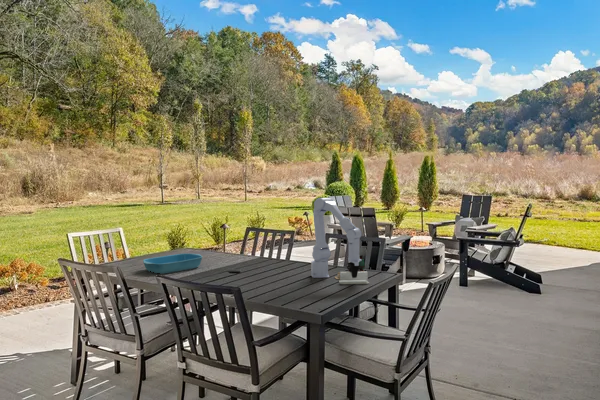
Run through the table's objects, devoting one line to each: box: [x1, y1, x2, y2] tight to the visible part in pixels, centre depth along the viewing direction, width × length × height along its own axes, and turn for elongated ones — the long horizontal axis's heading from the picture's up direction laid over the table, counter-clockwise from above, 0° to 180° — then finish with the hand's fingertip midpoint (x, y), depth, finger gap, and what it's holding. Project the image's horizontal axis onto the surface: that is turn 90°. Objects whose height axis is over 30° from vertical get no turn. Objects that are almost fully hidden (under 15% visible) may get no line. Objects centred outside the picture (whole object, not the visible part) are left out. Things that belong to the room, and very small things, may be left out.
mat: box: [338, 280, 370, 285], centre depth 227 cm, size 15×6×1 cm, turn 95°
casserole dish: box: [142, 252, 203, 275], centre depth 261 cm, size 37×22×7 cm, turn 139°
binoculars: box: [346, 254, 366, 272], centre depth 250 cm, size 9×11×10 cm
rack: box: [334, 271, 341, 280], centre depth 237 cm, size 16×5×3 cm, turn 95°
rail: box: [339, 270, 369, 281], centre depth 227 cm, size 14×3×4 cm, turn 95°
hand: (353, 276), depth 227 cm, fingers closed on rail, 3 cm apart
